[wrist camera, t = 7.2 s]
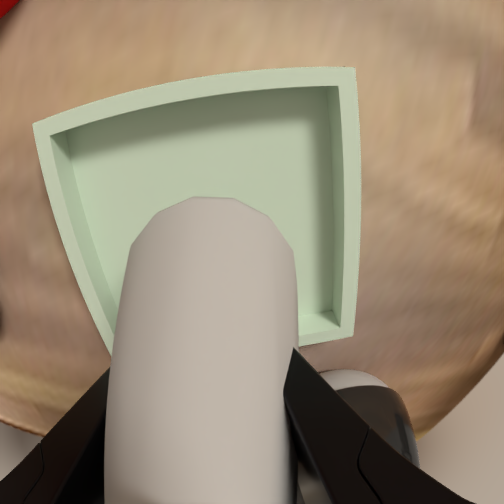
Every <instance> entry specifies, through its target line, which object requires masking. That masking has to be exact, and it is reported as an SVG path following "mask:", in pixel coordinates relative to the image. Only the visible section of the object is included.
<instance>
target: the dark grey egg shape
mask: <svg viewBox="0 0 504 504" xmlns="http://www.w3.org/2000/svg"><path fill="white" fill-rule="evenodd" d="M320 375H321V376H322V377H323V378H324V379H325V380H326V381H327V382H328V384H329V385H330V386H331V387H332V388H333V389H334V390H335V391H336V392H337V393H338V394H339V395H340V396H341V397H342V398H343V399H344V400H345V401H346V402H347V403H348V404H349V405H350V406H351V407H352V408H353V409H354V410H355V411H356V412H357V413H358V414H359V415H360V416H361V417H362V418H363V419H364V420H365V421H366V422H367V423H368V424H369V425H370V427H369V428H373V429H374V430H375V431H376V432H377V433H378V434H379V435H380V436H381V437H382V438H383V439H384V440H385V441H386V442H388V443H389V444H390V445H391V446H392V447H393V448H394V449H395V450H396V451H397V452H399V453H400V454H401V455H402V456H404V457H405V458H406V459H408V460H409V461H410V462H411V463H413V464H414V465H415V466H417V467H418V468H419V469H420V464H419V456H418V450H417V444H416V440H415V435H414V431H413V428H412V424H411V421H410V417H409V414H408V411H407V409H406V406H405V404H404V402H403V400H402V398H401V397H400V395H399V394H398V393H397V392H396V391H394V390H392V389H390V388H389V387H388V386H387V385H386V384H385V383H383V382H382V381H381V380H379V379H378V378H376V377H375V376H373V375H371V374H368V373H365V372H362V371H358V370H351V369H339V370H331V371H327V372H323V373H320ZM297 504H305V502H304V499H303V496H302V493H301V490H300V486H299V483H298V485H297Z"/></svg>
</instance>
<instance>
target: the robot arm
mask: <svg viewBox="0 0 504 504" xmlns="http://www.w3.org/2000/svg"><path fill="white" fill-rule="evenodd" d="M109 375H110V367H109V369H108V370H107V371H106V372H105V373H104V374H103V375H102V376H101V377H100V378H99V379H98V380H97V381H96V382H95V383H94V384H93V385H92V386H91V387H90V389H89V390H88V391H87V392H86V393H85V394H84V395H83V396H82V397H81V398H80V399H79V400H78V401H77V402H76V403H75V404H74V406H73V407H72V408H71V409H70V410H69V411H68V412H67V413H66V414H65V415H64V416H63V417H62V418H61V419H60V421H59V422H58V423H57V424H56V425H55V426H54V427H53V428H52V429H51V430H50V431H49V432H48V434H47V435H46V436H45V437H44V438H43V439H42V440H41V443H38V444H37V445H36V446H35V448H34V449H33V450H32V451H31V452H30V453H29V454H28V455H27V456H26V457H25V458H24V459H23V461H22V462H20V464H18V465H17V466H16V467H15V468H14V469H13V470H12V471H11V472H10V473H9V474H8V475H7V476H6V477H5V478H4V479H3V480H1V481H0V504H105V496H104V451H105V426H106V410H107V397H108V385H109ZM283 397H284V401H285V405H286V408H287V412H288V415H289V419H290V423H291V432H292V437H293V441H294V445H295V449H296V453H297V457H298V483H299V486H300V490H301V493H302V496H303V499H304V502H305V504H475V503H473V502H470V501H468V500H466V499H464V498H462V497H461V496H459V495H457V494H456V493H454V492H453V491H451V490H450V489H448V488H447V487H445V486H444V485H442V484H441V483H439V482H438V481H436V480H435V479H434V478H432V477H431V476H429V475H428V474H426V473H425V472H424V471H422V470H421V469H419V468H418V467H417V466H415V465H414V464H413V463H411V462H410V461H409V460H408V459H406V458H405V457H404V456H402V455H401V454H400V453H399V452H397V451H396V450H395V449H394V448H393V447H392V446H391V445H390V444H389V443H388V442H386V441H385V440H384V439H383V438H382V437H381V436H380V435H379V434H378V433H377V432H376V431H375V430H374V429H373V428H369V427H370V425H369V424H368V423H367V422H366V421H365V420H364V419H363V418H362V417H361V416H360V415H359V414H358V413H357V412H356V411H355V410H354V409H353V408H352V407H351V406H350V405H349V404H348V403H347V402H346V401H345V400H344V399H343V398H342V397H341V396H340V395H339V394H338V393H337V392H336V391H335V390H334V389H333V388H332V387H331V386H330V385H329V384H328V382H327V381H326V380H325V379H324V378H323V377H322V376H321V375H320V374H319V373H318V372H317V371H316V370H315V369H314V368H313V367H312V366H311V365H310V364H309V363H308V362H307V361H306V360H305V359H304V357H303V356H302V355H301V354H300V353H299V352H298V351H297V350H296V349H295V348H294V347H293V351H292V355H291V359H290V363H289V367H288V371H287V375H286V379H285V383H284V388H283Z"/></svg>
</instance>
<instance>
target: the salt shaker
mask: <svg viewBox="0 0 504 504" xmlns="http://www.w3.org/2000/svg"><path fill="white" fill-rule="evenodd" d="M293 347H294V348H295V349H296V350H297V351H298V352H299V331H298V293H297V278H296V269H295V261H294V252H293V250H292V248H291V247H290V245H289V244H288V242H287V241H286V240H285V238H284V237H283V235H282V234H281V232H280V231H279V229H278V228H277V227H276V225H275V224H274V222H273V221H272V220H271V218H270V217H269V216H268V215H266V214H264V213H262V212H260V211H258V210H256V209H254V208H252V207H250V206H248V205H246V204H244V203H243V202H241V201H239V200H237V199H235V198H227V197H198V196H193V197H190V198H188V199H186V200H184V201H181V202H179V203H177V204H175V205H172V206H170V207H168V208H166V209H164V210H161V211H159V212H158V213H156V214H155V215H154V216H153V217H152V218H151V220H150V221H149V222H148V224H147V225H146V226H145V227H144V229H143V230H142V231H141V233H140V234H139V235H138V237H137V238H136V239H135V240H134V242H133V243H132V244H131V246H130V251H129V256H128V260H127V265H126V270H125V275H124V280H123V286H122V291H121V297H120V302H119V308H118V314H117V321H116V327H115V334H114V342H113V349H112V357H111V366H110V375H109V385H108V397H107V410H106V426H105V451H104V496H105V504H297V485H298V457H297V453H296V449H295V445H294V441H293V437H292V432H291V423H290V419H289V415H288V412H287V408H286V405H285V401H284V397H283V388H284V383H285V379H286V375H287V371H288V367H289V363H290V359H291V355H292V351H293Z"/></svg>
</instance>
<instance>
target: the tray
mask: <svg viewBox="0 0 504 504" xmlns="http://www.w3.org/2000/svg"><path fill="white" fill-rule="evenodd" d="M32 125H33V131H34V136H35V141H36V146H37V151H38V156H39V160H40V165H41V169H42V173H43V177H44V181H45V185H46V189H47V192H48V196H49V200H50V203H51V207H52V210H53V213H54V217H55V220H56V223H57V226H58V230H59V233H60V236H61V239H62V242H63V245H64V247H65V250H66V253H67V256H68V259H69V261H70V264H71V267H72V269H73V272H74V275H75V277H76V280H77V282H78V285H79V287H80V290H81V292H82V294H83V297H84V299H85V302H86V304H87V306H88V308H89V311H90V313H91V315H92V317H93V320H94V322H95V324H96V326H97V328H98V330H99V332H100V335H101V337H102V339H103V341H104V343H105V345H106V347H107V349H108V351H109V353H110V355H111V357H112V349H113V342H114V334H115V327H116V321H117V314H118V308H119V302H120V297H121V291H122V286H123V280H124V275H125V270H126V265H127V260H128V256H129V251H130V246H131V244H132V243H133V242H134V240H135V239H136V238H137V237H138V235H139V234H140V233H141V231H142V230H143V229H144V227H145V226H146V225H147V224H148V222H149V221H150V220H151V218H152V217H153V216H154V215H155V214H156V213H158V212H159V211H161V210H164V209H166V208H168V207H170V206H172V205H175V204H177V203H179V202H181V201H184V200H186V199H188V198H190V197H193V196H198V197H227V198H235V199H237V200H239V201H241V202H243V203H244V204H246V205H248V206H250V207H252V208H254V209H256V210H258V211H260V212H262V213H264V214H266V215H268V216H269V217H270V218H271V220H272V221H273V222H274V224H275V225H276V227H277V228H278V229H279V231H280V232H281V234H282V235H283V237H284V238H285V240H286V241H287V242H288V244H289V245H290V247H291V248H292V250H293V252H294V261H295V269H296V278H297V293H298V331H299V346H304V345H310V344H315V343H321V342H326V341H331V340H336V339H341V338H346V337H351V336H353V331H354V322H355V311H356V300H357V287H358V273H359V255H360V230H361V150H360V126H359V109H358V95H357V83H356V72H355V67H296V68H277V69H263V70H252V71H242V72H233V73H225V74H218V75H211V76H204V77H198V78H192V79H186V80H181V81H175V82H170V83H165V84H161V85H156V86H151V87H147V88H143V89H139V90H134V91H130V92H127V93H123V94H119V95H115V96H112V97H108V98H105V99H101V100H98V101H95V102H91V103H88V104H85V105H82V106H79V107H76V108H73V109H70V110H67V111H64V112H61V113H59V114H56V115H53V116H50V117H48V118H45V119H43V120H40V121H38V122H35V123H33V124H32Z"/></svg>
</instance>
